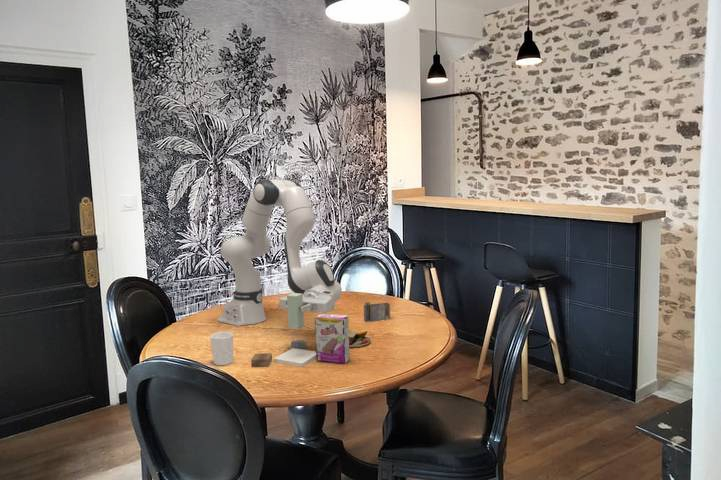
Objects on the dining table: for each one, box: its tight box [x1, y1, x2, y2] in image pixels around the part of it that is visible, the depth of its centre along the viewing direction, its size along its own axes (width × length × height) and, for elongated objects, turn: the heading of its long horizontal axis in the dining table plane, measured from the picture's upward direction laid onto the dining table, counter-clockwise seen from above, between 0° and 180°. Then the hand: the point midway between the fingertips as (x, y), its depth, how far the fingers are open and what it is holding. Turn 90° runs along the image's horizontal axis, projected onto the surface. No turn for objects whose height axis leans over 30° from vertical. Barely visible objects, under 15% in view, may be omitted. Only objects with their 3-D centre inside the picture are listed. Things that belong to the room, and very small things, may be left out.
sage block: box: [286, 292, 305, 330], centre depth 188 cm, size 4×4×12 cm
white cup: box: [209, 331, 234, 366], centre depth 189 cm, size 8×8×10 cm
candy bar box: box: [314, 313, 351, 365], centre depth 186 cm, size 11×5×16 cm, turn 71°
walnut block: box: [250, 352, 273, 368], centre depth 186 cm, size 6×6×3 cm
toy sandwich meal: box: [349, 330, 372, 349], centre depth 206 cm, size 12×14×5 cm
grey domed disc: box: [290, 339, 308, 350], centre depth 202 cm, size 6×6×2 cm
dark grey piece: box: [363, 301, 391, 323], centre depth 234 cm, size 11×3×10 cm, turn 103°
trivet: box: [273, 348, 316, 368], centre depth 190 cm, size 12×12×1 cm
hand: (294, 308), depth 187 cm, fingers closed on sage block, 4 cm apart
